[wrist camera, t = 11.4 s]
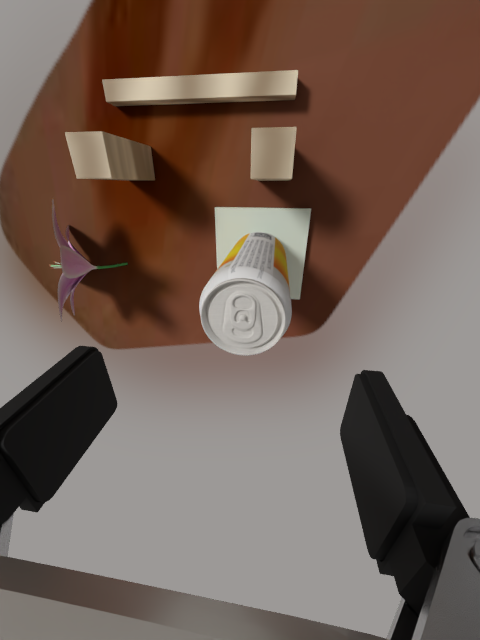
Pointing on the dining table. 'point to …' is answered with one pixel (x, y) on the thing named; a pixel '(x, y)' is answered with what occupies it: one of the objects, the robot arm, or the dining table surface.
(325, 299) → the dining table surface
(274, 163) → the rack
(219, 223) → the mat
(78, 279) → the lily
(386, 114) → the dining table surface
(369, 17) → the dining table surface
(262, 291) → the beer can
